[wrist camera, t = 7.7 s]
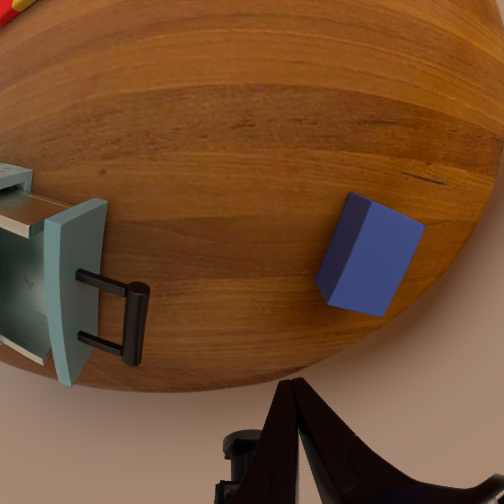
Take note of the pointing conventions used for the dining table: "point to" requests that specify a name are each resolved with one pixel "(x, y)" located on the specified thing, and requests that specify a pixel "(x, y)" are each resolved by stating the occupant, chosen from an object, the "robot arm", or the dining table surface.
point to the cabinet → (15, 179)
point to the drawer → (60, 283)
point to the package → (367, 256)
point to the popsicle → (12, 9)
